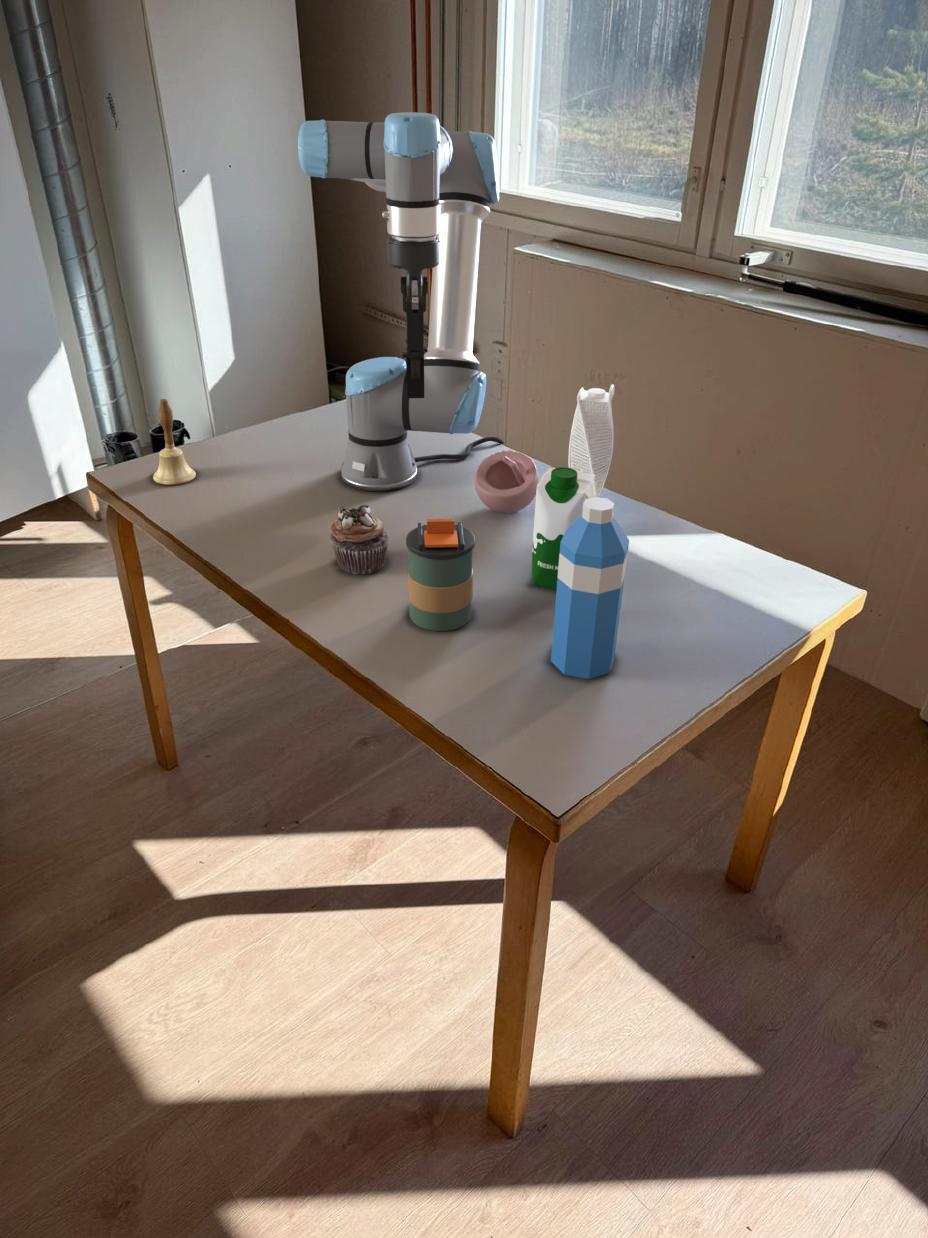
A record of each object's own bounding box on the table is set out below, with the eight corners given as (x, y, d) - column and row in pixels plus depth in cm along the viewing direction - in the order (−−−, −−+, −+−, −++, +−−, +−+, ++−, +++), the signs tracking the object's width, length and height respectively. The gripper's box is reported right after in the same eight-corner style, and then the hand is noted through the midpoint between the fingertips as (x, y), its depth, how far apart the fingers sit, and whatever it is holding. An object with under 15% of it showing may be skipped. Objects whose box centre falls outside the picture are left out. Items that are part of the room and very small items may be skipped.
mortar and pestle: (464, 517, 172) (465, 459, 166) (487, 492, 181) (488, 437, 175) (525, 529, 168) (528, 470, 162) (545, 503, 178) (549, 447, 171)
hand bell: (181, 465, 190) (169, 389, 182) (204, 476, 185) (192, 400, 177) (145, 476, 185) (131, 399, 176) (167, 489, 180) (153, 410, 172)
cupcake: (345, 582, 151) (342, 527, 146) (325, 556, 158) (321, 503, 153) (399, 569, 155) (397, 515, 150) (376, 545, 162) (374, 493, 157)
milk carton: (525, 586, 151) (532, 474, 140) (539, 561, 158) (547, 452, 147) (577, 596, 149) (589, 482, 138) (589, 570, 156) (601, 460, 145)
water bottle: (545, 643, 137) (557, 489, 124) (607, 640, 138) (625, 487, 124) (556, 680, 129) (570, 520, 116) (621, 677, 130) (642, 518, 117)
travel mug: (408, 598, 147) (406, 528, 141) (469, 597, 148) (471, 527, 141) (408, 632, 139) (407, 560, 132) (474, 631, 140) (476, 558, 133)
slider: (424, 533, 137) (424, 518, 135) (456, 533, 137) (456, 517, 136) (424, 547, 133) (424, 532, 132) (458, 547, 133) (458, 531, 132)
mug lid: (405, 528, 141) (405, 518, 140) (472, 527, 141) (472, 517, 140) (406, 560, 132) (406, 550, 131) (477, 559, 133) (477, 549, 132)
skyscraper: (613, 536, 166) (631, 385, 151) (580, 546, 163) (595, 392, 148) (586, 519, 172) (601, 371, 157) (554, 528, 169) (565, 378, 154)
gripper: (387, 227, 137) (391, 382, 149) (386, 245, 126) (391, 411, 139) (437, 227, 137) (437, 382, 150) (441, 245, 126) (441, 411, 139)
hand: (415, 396), depth 144 cm, fingers closed
